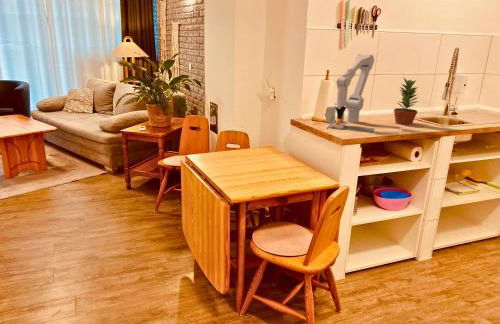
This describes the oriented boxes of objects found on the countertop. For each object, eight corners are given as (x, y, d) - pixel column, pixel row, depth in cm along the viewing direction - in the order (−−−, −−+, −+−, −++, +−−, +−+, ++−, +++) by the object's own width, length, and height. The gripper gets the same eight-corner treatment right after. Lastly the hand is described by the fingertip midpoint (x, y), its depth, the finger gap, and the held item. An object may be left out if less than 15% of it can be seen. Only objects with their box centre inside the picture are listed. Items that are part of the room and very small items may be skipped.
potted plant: (418, 126, 248) (426, 78, 239) (393, 125, 251) (400, 77, 241) (414, 121, 262) (421, 76, 252) (390, 120, 265) (396, 75, 255)
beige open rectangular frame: (333, 121, 244) (334, 112, 242) (346, 123, 241) (347, 113, 239) (329, 126, 233) (330, 116, 231) (342, 128, 230) (344, 117, 228)
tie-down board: (330, 125, 245) (330, 123, 245) (375, 130, 235) (375, 128, 235) (326, 129, 234) (326, 127, 234) (372, 134, 224) (372, 132, 224)
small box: (334, 121, 256) (336, 106, 253) (330, 123, 252) (331, 107, 249) (324, 120, 261) (325, 104, 258) (320, 121, 257) (321, 105, 254)
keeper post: (336, 126, 239) (336, 119, 237) (340, 126, 238) (340, 119, 237) (335, 127, 237) (336, 119, 235) (339, 127, 236) (339, 120, 234)
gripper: (337, 94, 245) (335, 116, 249) (333, 97, 232) (331, 120, 236) (349, 95, 242) (346, 117, 246) (345, 98, 229) (342, 121, 233)
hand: (340, 118), depth 241 cm, fingers closed on beige open rectangular frame
